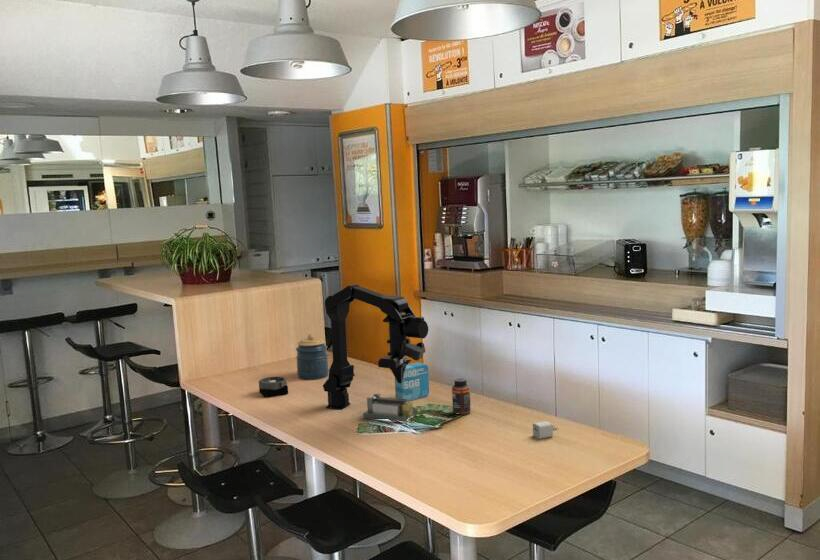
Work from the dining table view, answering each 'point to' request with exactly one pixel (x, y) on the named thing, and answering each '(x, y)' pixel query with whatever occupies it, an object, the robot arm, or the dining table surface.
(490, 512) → the dining table surface
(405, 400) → the dark grey bar
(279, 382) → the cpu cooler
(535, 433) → the usb wall charger
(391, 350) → the robot arm
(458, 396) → the supplement bottle
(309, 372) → the canister
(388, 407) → the heatsink
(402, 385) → the data package
